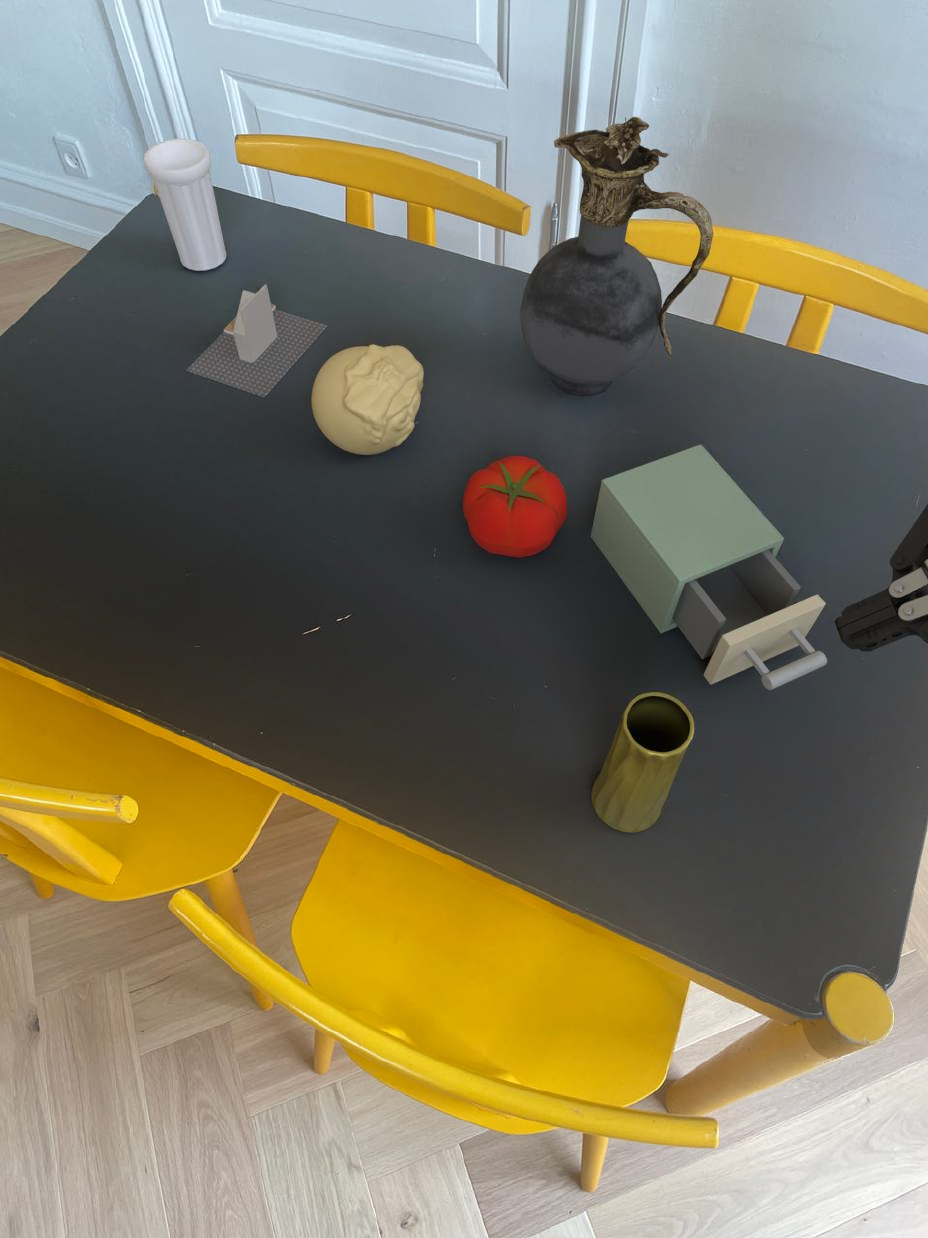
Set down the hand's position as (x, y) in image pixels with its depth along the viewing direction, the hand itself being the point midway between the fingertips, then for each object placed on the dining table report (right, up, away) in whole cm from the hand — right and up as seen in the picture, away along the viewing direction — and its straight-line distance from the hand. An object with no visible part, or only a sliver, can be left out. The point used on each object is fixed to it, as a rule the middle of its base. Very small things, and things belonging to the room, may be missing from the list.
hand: (842, 635), depth 55 cm
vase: (-10, -15, +19) cm, 26 cm away
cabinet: (-3, +7, +33) cm, 34 cm away
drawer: (+1, 0, +27) cm, 27 cm away
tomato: (-19, +10, +36) cm, 42 cm away
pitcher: (-9, +30, +49) cm, 58 cm away
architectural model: (-50, +35, +52) cm, 80 cm away
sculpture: (-35, +22, +44) cm, 61 cm away
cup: (-60, +50, +62) cm, 100 cm away
